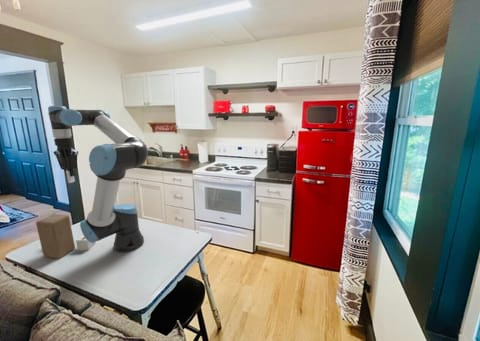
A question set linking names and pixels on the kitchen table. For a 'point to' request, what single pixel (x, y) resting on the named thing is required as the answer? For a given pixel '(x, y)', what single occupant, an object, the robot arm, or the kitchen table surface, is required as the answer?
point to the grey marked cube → (84, 243)
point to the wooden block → (55, 235)
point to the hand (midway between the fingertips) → (71, 182)
